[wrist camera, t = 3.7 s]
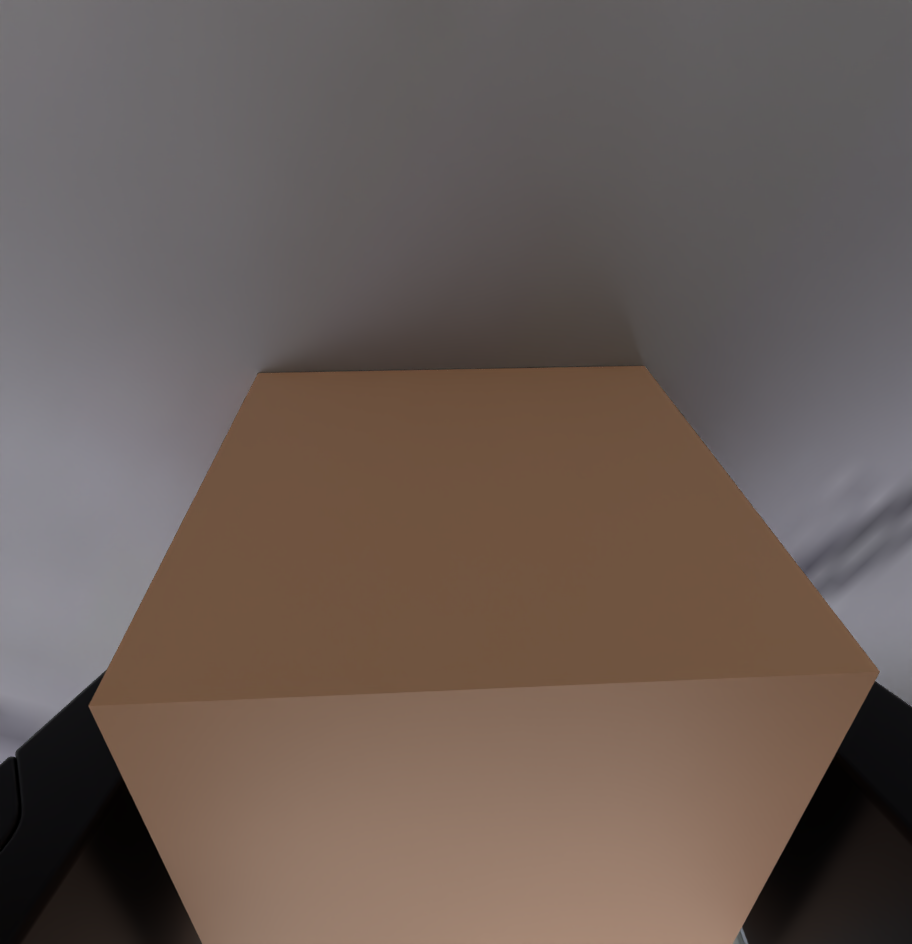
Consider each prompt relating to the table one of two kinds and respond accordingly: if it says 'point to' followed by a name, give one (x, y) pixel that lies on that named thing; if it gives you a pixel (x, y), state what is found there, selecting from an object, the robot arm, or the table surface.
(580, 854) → the terracotta cube
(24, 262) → the table surface
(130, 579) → the table surface
